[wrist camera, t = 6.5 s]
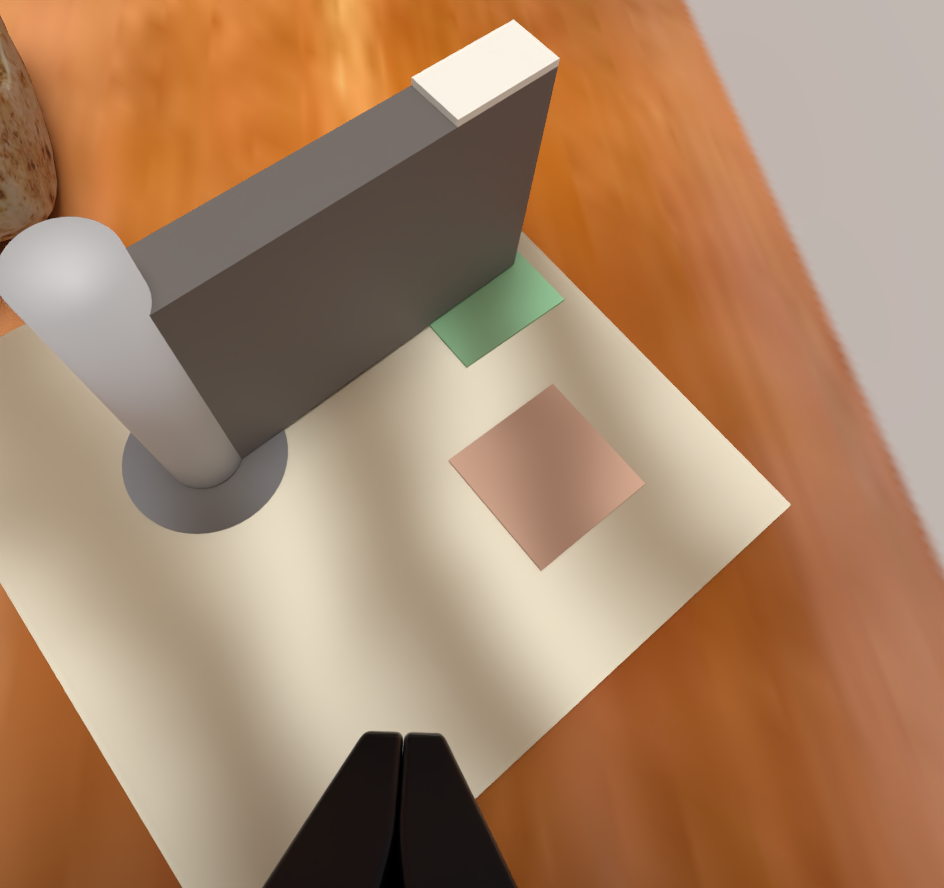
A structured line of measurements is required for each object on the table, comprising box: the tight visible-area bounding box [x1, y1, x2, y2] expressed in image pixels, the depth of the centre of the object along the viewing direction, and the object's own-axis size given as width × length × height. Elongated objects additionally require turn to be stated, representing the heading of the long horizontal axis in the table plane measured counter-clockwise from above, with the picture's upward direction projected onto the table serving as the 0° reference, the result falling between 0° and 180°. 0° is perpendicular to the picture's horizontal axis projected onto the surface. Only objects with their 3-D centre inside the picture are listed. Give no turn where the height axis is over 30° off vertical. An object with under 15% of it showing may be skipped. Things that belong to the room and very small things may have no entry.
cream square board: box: [0, 231, 791, 888], centre depth 20 cm, size 18×18×1 cm
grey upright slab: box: [0, 20, 560, 488], centre depth 17 cm, size 12×2×8 cm, turn 132°
